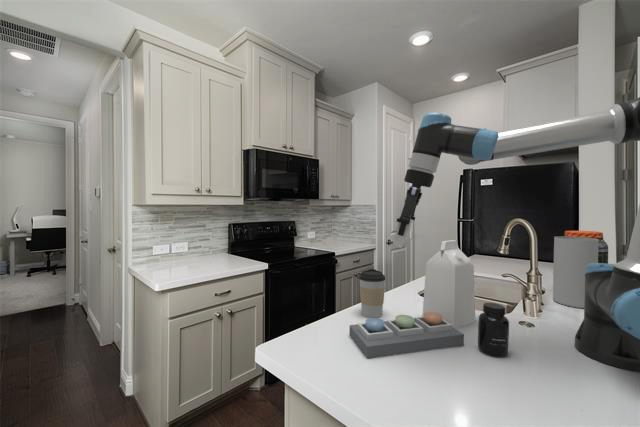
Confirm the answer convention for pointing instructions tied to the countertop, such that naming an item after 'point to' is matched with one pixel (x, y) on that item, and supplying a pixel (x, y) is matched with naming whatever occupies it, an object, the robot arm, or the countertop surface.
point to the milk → (450, 285)
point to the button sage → (404, 321)
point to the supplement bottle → (493, 330)
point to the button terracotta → (432, 318)
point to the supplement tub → (596, 235)
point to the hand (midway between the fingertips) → (399, 242)
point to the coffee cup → (372, 293)
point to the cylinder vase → (572, 268)
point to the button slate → (374, 324)
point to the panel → (405, 338)
